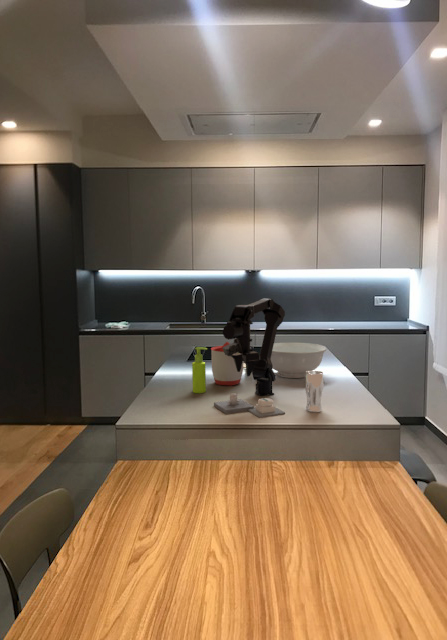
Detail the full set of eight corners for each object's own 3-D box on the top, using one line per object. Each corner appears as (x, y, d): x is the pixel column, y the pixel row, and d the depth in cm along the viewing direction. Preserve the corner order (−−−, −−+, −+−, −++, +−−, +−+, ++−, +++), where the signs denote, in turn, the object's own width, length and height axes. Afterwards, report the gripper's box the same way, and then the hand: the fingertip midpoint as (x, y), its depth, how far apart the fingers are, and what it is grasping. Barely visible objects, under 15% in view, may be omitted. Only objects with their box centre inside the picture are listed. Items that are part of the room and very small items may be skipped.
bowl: (307, 366, 279) (307, 340, 278) (337, 379, 249) (338, 349, 247) (252, 370, 270) (252, 343, 268) (277, 384, 239) (277, 354, 237)
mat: (271, 406, 203) (271, 405, 203) (285, 413, 193) (285, 412, 193) (246, 409, 199) (246, 408, 199) (259, 417, 189) (259, 416, 189)
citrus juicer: (250, 380, 249) (250, 339, 246) (236, 388, 233) (235, 345, 231) (221, 377, 255) (220, 338, 253) (205, 385, 239) (205, 343, 237)
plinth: (241, 402, 209) (240, 389, 209) (253, 410, 198) (253, 396, 198) (213, 405, 205) (213, 392, 204) (225, 413, 194) (225, 399, 193)
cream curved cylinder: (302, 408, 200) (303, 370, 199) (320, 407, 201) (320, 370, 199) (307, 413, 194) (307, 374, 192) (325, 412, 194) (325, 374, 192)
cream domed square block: (255, 409, 197) (255, 398, 197) (268, 407, 199) (268, 396, 199) (262, 413, 192) (261, 402, 192) (275, 411, 194) (275, 400, 194)
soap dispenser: (206, 393, 224) (205, 348, 222) (191, 392, 226) (190, 348, 224) (209, 390, 230) (208, 346, 228) (194, 389, 231) (193, 346, 229)
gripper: (216, 334, 212) (216, 371, 213) (234, 341, 195) (235, 380, 197) (240, 332, 216) (240, 368, 218) (260, 338, 199) (260, 377, 201)
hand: (243, 373), depth 208 cm, fingers open, 9 cm apart
